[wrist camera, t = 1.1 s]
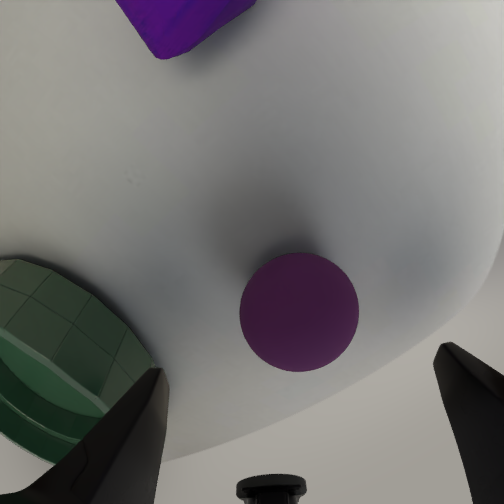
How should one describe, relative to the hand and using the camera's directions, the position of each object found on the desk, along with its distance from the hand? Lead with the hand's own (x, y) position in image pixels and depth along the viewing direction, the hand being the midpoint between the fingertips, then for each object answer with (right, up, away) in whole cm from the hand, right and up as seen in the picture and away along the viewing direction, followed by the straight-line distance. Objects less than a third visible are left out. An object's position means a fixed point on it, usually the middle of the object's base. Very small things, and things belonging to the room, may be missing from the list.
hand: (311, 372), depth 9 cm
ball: (0, +1, +3) cm, 3 cm away
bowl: (-14, -3, +7) cm, 16 cm away
